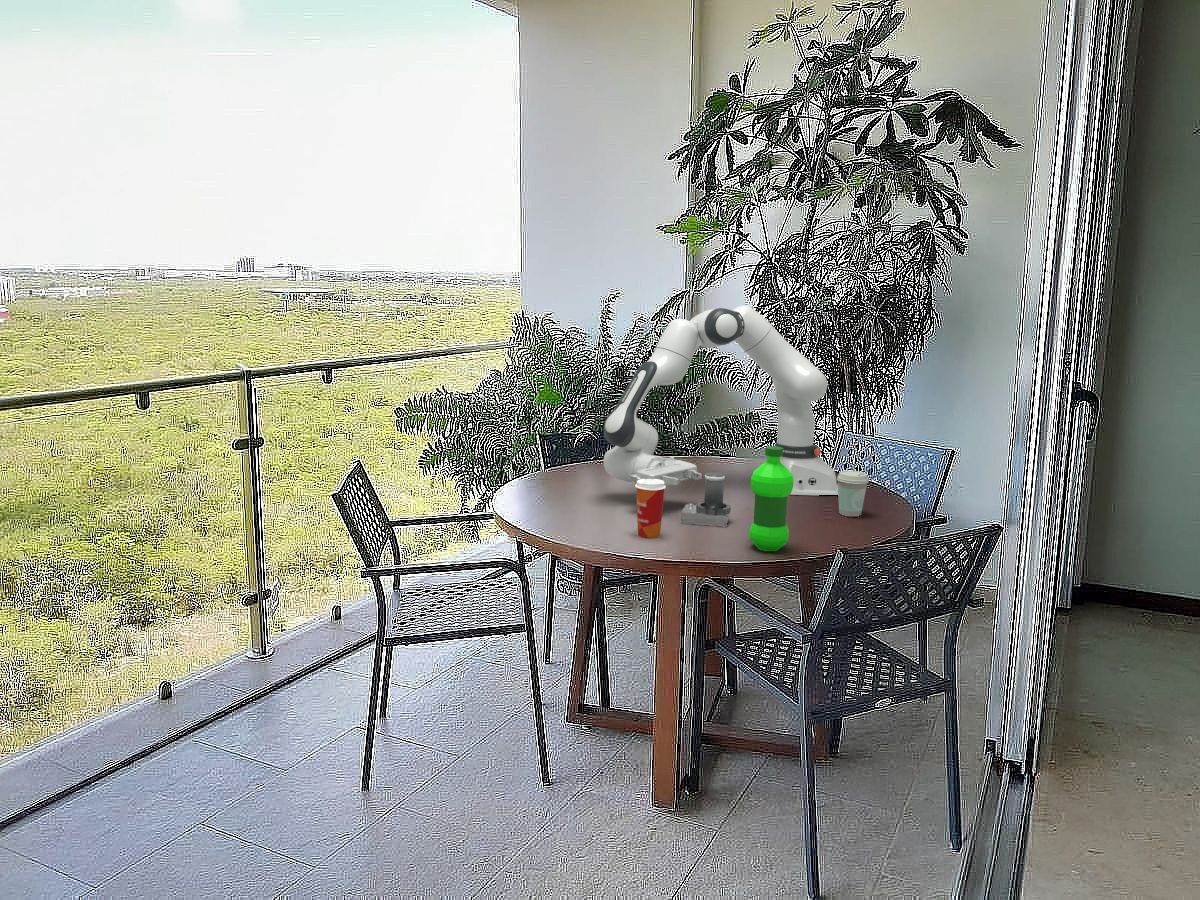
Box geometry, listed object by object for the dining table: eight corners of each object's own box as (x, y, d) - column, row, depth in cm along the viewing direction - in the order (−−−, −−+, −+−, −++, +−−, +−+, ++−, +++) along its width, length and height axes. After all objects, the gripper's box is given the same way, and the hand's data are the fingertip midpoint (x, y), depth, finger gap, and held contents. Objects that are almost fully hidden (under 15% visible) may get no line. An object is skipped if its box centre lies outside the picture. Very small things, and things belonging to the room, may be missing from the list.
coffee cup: (848, 520, 253) (852, 477, 251) (827, 513, 261) (830, 471, 258) (872, 517, 257) (875, 475, 255) (851, 510, 265) (854, 469, 262)
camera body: (731, 518, 252) (732, 502, 252) (727, 527, 244) (728, 510, 243) (685, 514, 255) (686, 499, 254) (680, 523, 247) (681, 507, 246)
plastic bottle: (795, 554, 222) (802, 452, 217) (751, 554, 221) (757, 451, 216) (783, 542, 232) (790, 444, 227) (742, 542, 231) (747, 443, 226)
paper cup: (632, 530, 239) (633, 477, 236) (661, 530, 239) (663, 477, 237) (635, 539, 231) (637, 485, 228) (666, 539, 232) (668, 485, 229)
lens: (724, 509, 250) (725, 473, 248) (721, 514, 246) (723, 477, 244) (704, 507, 252) (706, 471, 250) (702, 512, 247) (703, 475, 245)
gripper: (626, 464, 254) (665, 473, 245) (673, 455, 269) (712, 463, 259) (625, 487, 255) (664, 496, 246) (672, 476, 270) (711, 485, 261)
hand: (689, 479), depth 253 cm, fingers open, 8 cm apart
